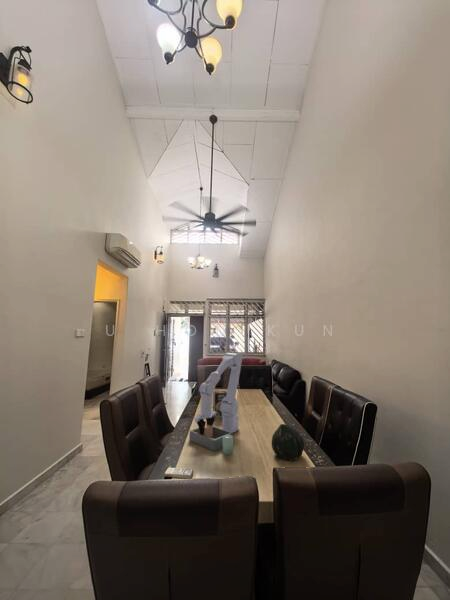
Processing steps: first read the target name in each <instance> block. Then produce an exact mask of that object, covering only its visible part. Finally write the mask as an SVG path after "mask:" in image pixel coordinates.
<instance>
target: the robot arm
mask: <svg viewBox="0 0 450 600" xmlns="http://www.w3.org/2000/svg"><path fill="white" fill-rule="evenodd" d="M221 360H222V361H221V362H220V364H219V365H218V367H217V368H216V370H215V371H212V372H211V373H210V375H209V376H208V377H207V379H206V380H205V381H204V382H202V383H201V384H200V386H199V388H198V391H199V393H200V414H199V415H197V416H195V417H194V422H195V423H196V424H197V428H199V431H200V434H202V435H203V434H204V428H205V424H208V425H211V426H214V423H215V421H216V419H215V417H213V416H216V412H214V411H213V410H212V407H213V392H214V391H215V388H216V386H217V384H218V383H219V381H220V380H221V375H222V374H223V373H224V372H225V370H227V368H228V367H229V368H230V369H231V371H230V374H229V380H228V385H227V390H226V392H227V395H226V397H224V398H223V399H222V403H221V405H220V411H221V412H222V414H223V418H222V421H221V422H222V426H221V427H222V428H221V429H223V430H226V431H229V432H232V434H233V433H235V432H237V431H240V428H239V416H238V412H239V402H238V400H237V398H236V396H237V390H238V386H239V380H240V374H241V369H242V362H243V357H242V355H241V354H240V353H235V352H225V353H224V354H223V356H222V359H221Z"/></svg>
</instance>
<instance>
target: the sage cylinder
mask: <svg viewBox="0 0 450 600" xmlns="http://www.w3.org/2000/svg"><path fill="white" fill-rule="evenodd" d="M221 449H222V455H225V456H230V455H233V453H234V435H233V434H232V435H224V436H223V447H222V448H221Z"/></svg>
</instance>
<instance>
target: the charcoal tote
mask: <svg viewBox="0 0 450 600" xmlns="http://www.w3.org/2000/svg"><path fill="white" fill-rule="evenodd" d="M212 426H213V436H212V437H207V436H204V435H202V434H199V427H196V428H194V429H191V430H189V442H191V443H193V444H195V445H198V446H200V447H203V448H206V449H207V450H210V451H212V452H217V451H218V450H220V449H222V447H223V436H224V435H232V436H233V433H232V432H229V431H226V430H223V429H222V428H221V427H218V426H215V425H212Z"/></svg>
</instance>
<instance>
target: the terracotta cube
mask: <svg viewBox="0 0 450 600" xmlns="http://www.w3.org/2000/svg"><path fill="white" fill-rule="evenodd" d="M213 426H214V425H212V426H211V425H208V424H207V423H206V424H205V428H204V434H203V435H204V436H207V437H212V436H213ZM199 434H200V431H199Z"/></svg>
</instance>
